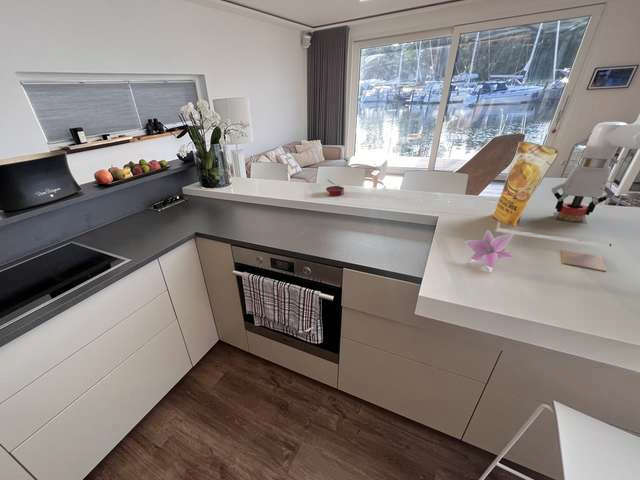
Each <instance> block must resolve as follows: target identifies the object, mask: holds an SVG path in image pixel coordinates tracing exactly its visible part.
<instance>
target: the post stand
mask: <svg viewBox="0 0 640 480" xmlns="http://www.w3.org/2000/svg"><path fill="white" fill-rule="evenodd" d="M584 198H585V197H582V196H573V199H572V201H571V202H570V203H571V206H570V207H571V208H579V207H580V204H582V202H583V200H584ZM557 214H558V212H557V211H554V212H553V220H554V221H559V222H567V223H574V224H584V225H588V221H587V218H586V216H585V217H584V219H583V220H582V221H566V220H563V219H560V218H558V217H557Z"/></svg>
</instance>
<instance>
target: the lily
mask: <svg viewBox="0 0 640 480" xmlns="http://www.w3.org/2000/svg"><path fill="white" fill-rule="evenodd" d="M513 238H514V233H507V234H502V235H498V236H496V237H494V235H493V233H492V232H491V231H490V230H489V229H486V231H485V232H484V234H483V237H482V239H471V240H470V239H469V240H465V241H464V245H466V246H467V247H468V248H469V249H470V250H471V251H473V252H474V253H473V255H472V256H471V257H470V259H474V260H476V261H477V262H481V261H482V263H483V266H485V265H486V266H489V267H492V268H493V269H495V267H496V265H497V263H498V261H499V259H513V258H515V256H514V255H513V254H512V252H510V251H508V250H507V249H506V247H507V245H508V244H509V243H510V242H511V240H512V239H513Z"/></svg>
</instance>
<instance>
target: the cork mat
mask: <svg viewBox="0 0 640 480" xmlns="http://www.w3.org/2000/svg"><path fill="white" fill-rule="evenodd" d="M560 254H561V264H562V265H567V266H571V267H572V266H573V267H578V268H581V269H582V268H583V269H588V270H593V271H599V272H607V267H606V265H605V262H604V258H603V256H600V255H593V254H587V253H581V252H575V251H569V250H562V249H561V250H560Z"/></svg>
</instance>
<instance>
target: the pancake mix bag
mask: <svg viewBox="0 0 640 480" xmlns="http://www.w3.org/2000/svg"><path fill="white" fill-rule="evenodd" d="M558 156H559V151H558V149H557V148H555V147H550V146H547V145H546V146H545V145H542V144H538V143H535V142H530V141H523V140H522V141H519V142H517V147H516V150H515V153H514V156H513V159H512V161H511V165H510V167H509V171H508V173H507V176H506V178H505V180H504V184H503V189H502V191H501V193H500V196H499V199H498V202H497V204H496V206H495V209H494V211H493V214H492V216H493V218H494V219H496V220H497V221H498V222H499V223H501V222H503V223H504V224H506V225H511V226H513V227H517V226H518V225H519V224H520V223H521V221H520V220H521V217H522V215H523V214H524V211H525V210H526V208H527V206H528V204H529V202H530V201H531V199H532V197H533V196H534V194H535V192H536V191H537V189H538V188H539V186H540V185H541V183H542V181H543V180H544V178H545V177H546V175H547V173H548V172H549V170H550V169H551V167H552V166H553V165H554V163H555V162H556V160H557V158H558Z"/></svg>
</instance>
